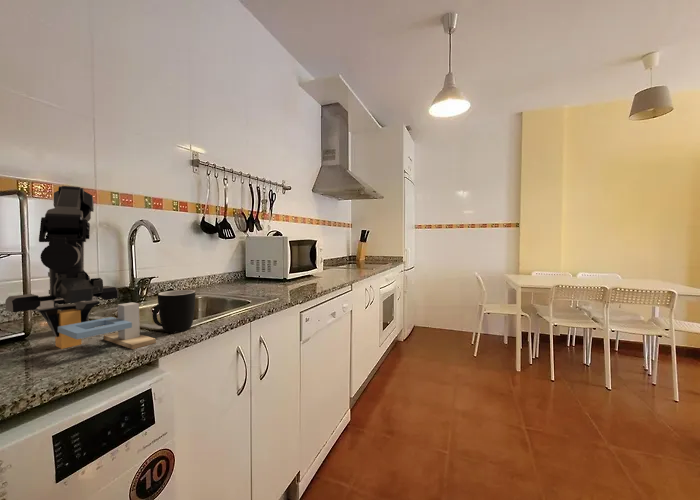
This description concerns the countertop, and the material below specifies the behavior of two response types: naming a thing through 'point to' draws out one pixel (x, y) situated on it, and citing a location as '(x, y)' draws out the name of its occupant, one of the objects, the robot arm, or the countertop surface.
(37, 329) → the countertop surface
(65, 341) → the orange square post
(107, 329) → the bracket
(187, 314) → the mug
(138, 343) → the board
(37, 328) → the countertop surface
